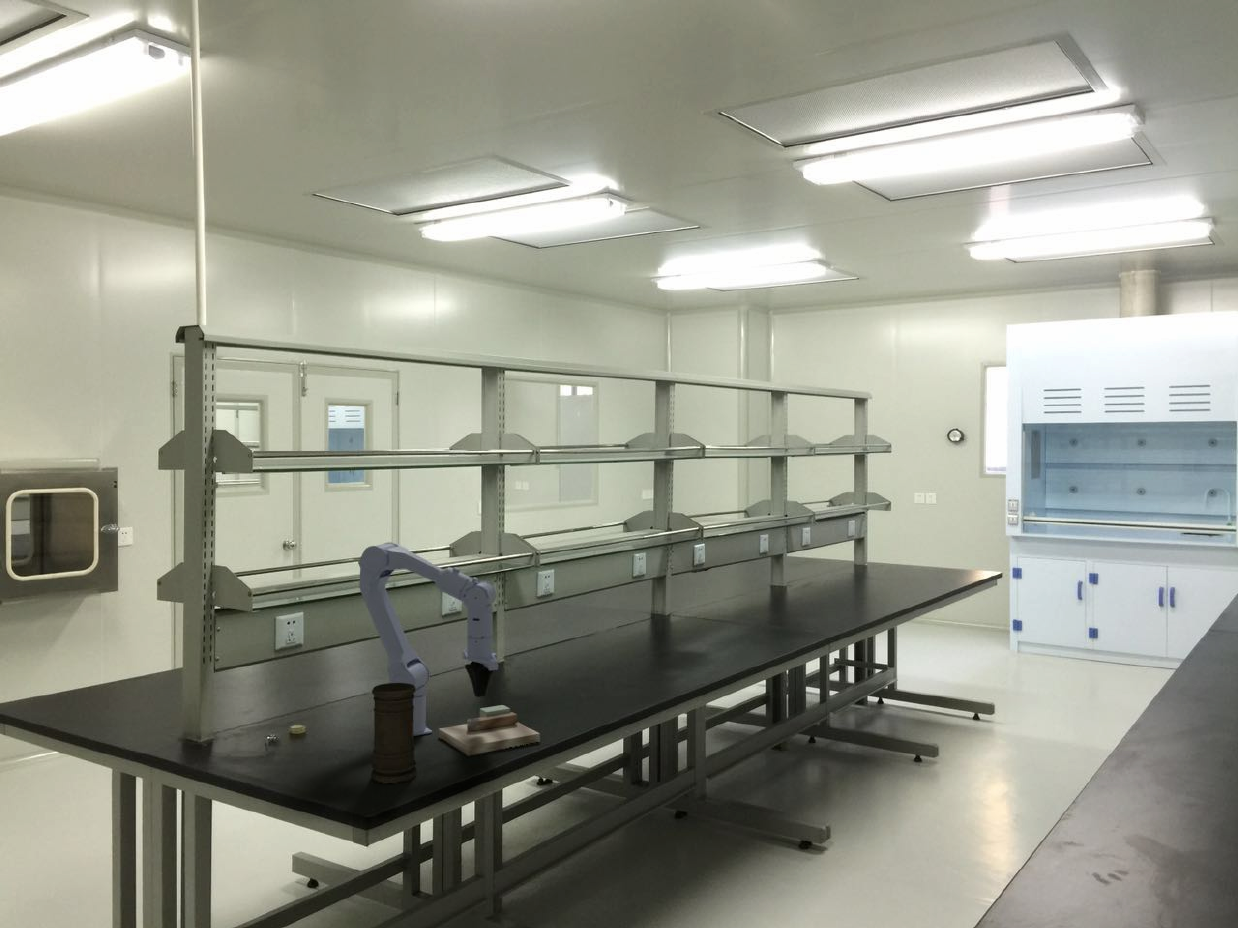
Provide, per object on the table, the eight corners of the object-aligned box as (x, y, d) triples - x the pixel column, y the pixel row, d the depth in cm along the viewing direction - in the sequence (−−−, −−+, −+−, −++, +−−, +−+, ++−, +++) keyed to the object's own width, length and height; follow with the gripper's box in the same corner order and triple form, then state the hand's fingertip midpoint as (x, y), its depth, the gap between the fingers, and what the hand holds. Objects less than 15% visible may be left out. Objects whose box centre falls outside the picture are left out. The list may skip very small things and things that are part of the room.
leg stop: (486, 725, 227) (486, 712, 227) (479, 722, 230) (479, 708, 230) (509, 721, 231) (509, 708, 231) (502, 718, 234) (502, 704, 234)
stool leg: (470, 731, 222) (470, 722, 222) (465, 728, 224) (465, 719, 224) (517, 723, 229) (517, 714, 229) (511, 720, 231) (511, 711, 231)
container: (388, 787, 193) (388, 695, 192) (362, 776, 199) (362, 687, 198) (426, 775, 199) (426, 686, 199) (399, 765, 205) (399, 679, 205)
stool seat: (468, 755, 212) (468, 746, 212) (438, 737, 225) (438, 728, 225) (539, 742, 222) (539, 733, 222) (507, 725, 235) (508, 717, 235)
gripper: (510, 639, 222) (510, 700, 222) (482, 629, 234) (481, 686, 234) (481, 642, 218) (481, 704, 218) (454, 632, 230) (454, 690, 230)
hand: (479, 695), depth 226 cm, fingers closed
